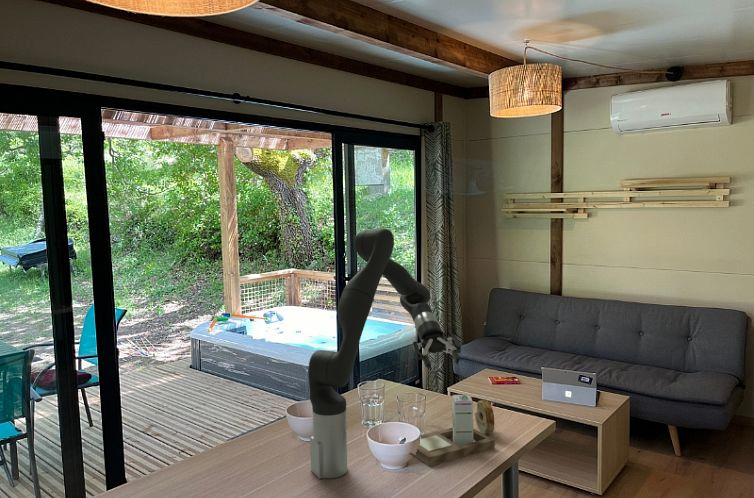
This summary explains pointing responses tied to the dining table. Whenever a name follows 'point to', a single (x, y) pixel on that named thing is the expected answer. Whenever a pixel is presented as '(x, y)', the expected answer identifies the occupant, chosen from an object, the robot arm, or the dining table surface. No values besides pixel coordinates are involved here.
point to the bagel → (484, 417)
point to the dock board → (450, 446)
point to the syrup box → (462, 419)
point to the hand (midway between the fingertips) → (443, 364)
